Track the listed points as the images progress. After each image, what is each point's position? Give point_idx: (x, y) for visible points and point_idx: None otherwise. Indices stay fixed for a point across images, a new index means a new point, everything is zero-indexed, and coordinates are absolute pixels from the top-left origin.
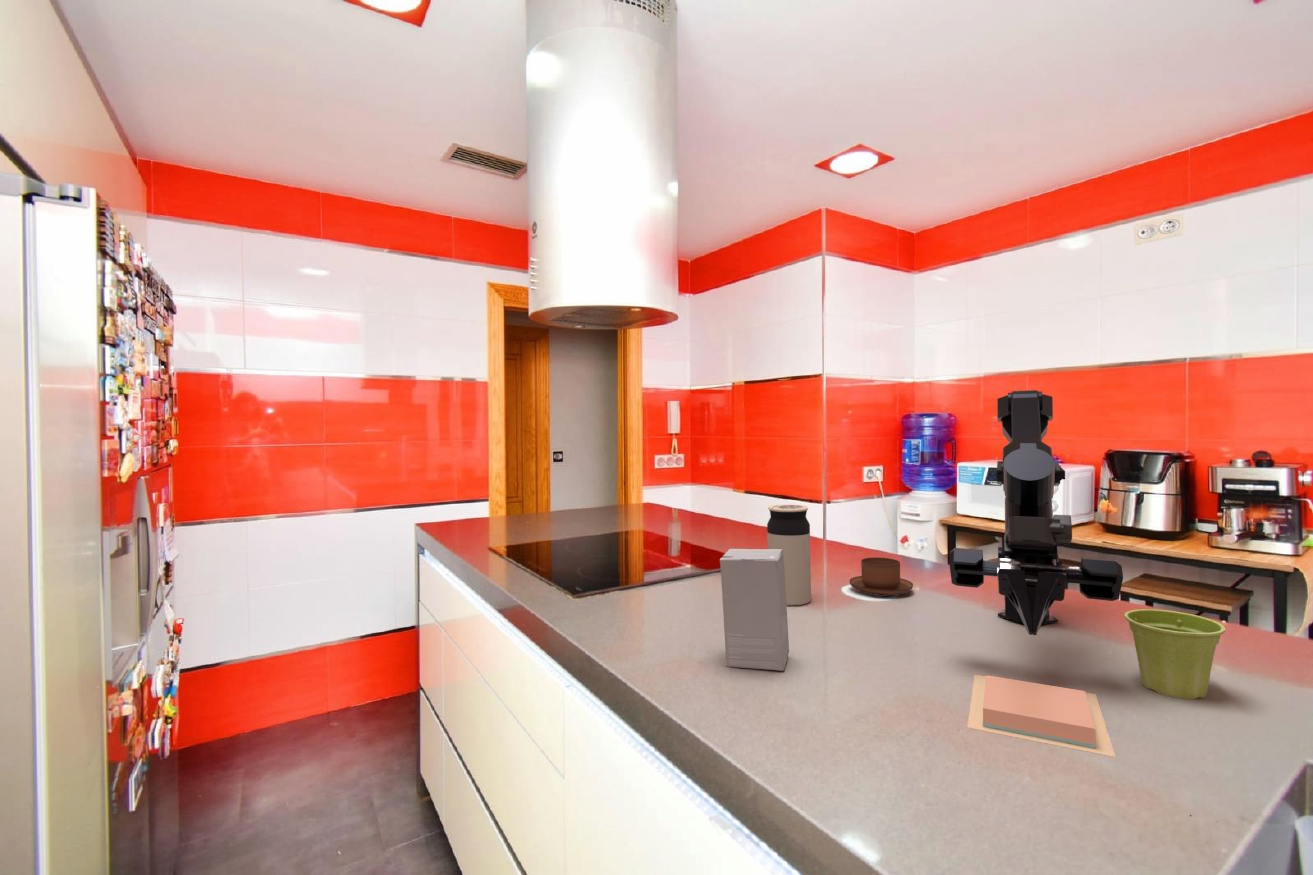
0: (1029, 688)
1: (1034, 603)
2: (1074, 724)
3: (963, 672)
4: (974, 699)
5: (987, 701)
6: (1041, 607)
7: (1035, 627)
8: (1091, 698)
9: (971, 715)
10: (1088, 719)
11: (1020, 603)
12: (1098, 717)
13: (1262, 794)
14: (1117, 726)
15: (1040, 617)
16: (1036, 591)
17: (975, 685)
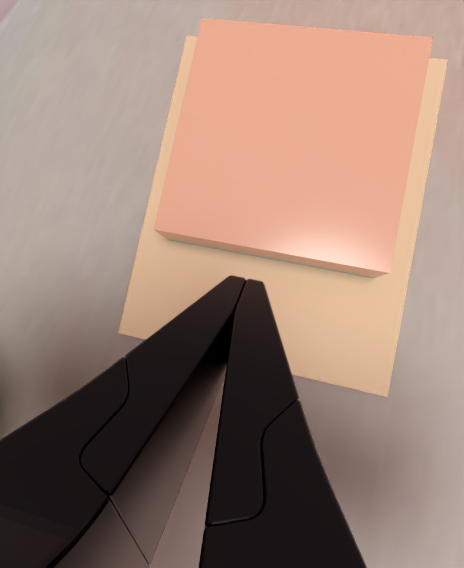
0: (286, 206)
1: (184, 383)
2: (237, 24)
3: (412, 427)
4: (411, 218)
5: (414, 83)
6: (150, 349)
7: (229, 284)
8: (135, 304)
9: (430, 121)
10: (200, 61)
11: (291, 394)
12: (156, 201)
13: (22, 12)
14: (133, 186)
15: (186, 309)
16: (107, 492)
17: (396, 313)
